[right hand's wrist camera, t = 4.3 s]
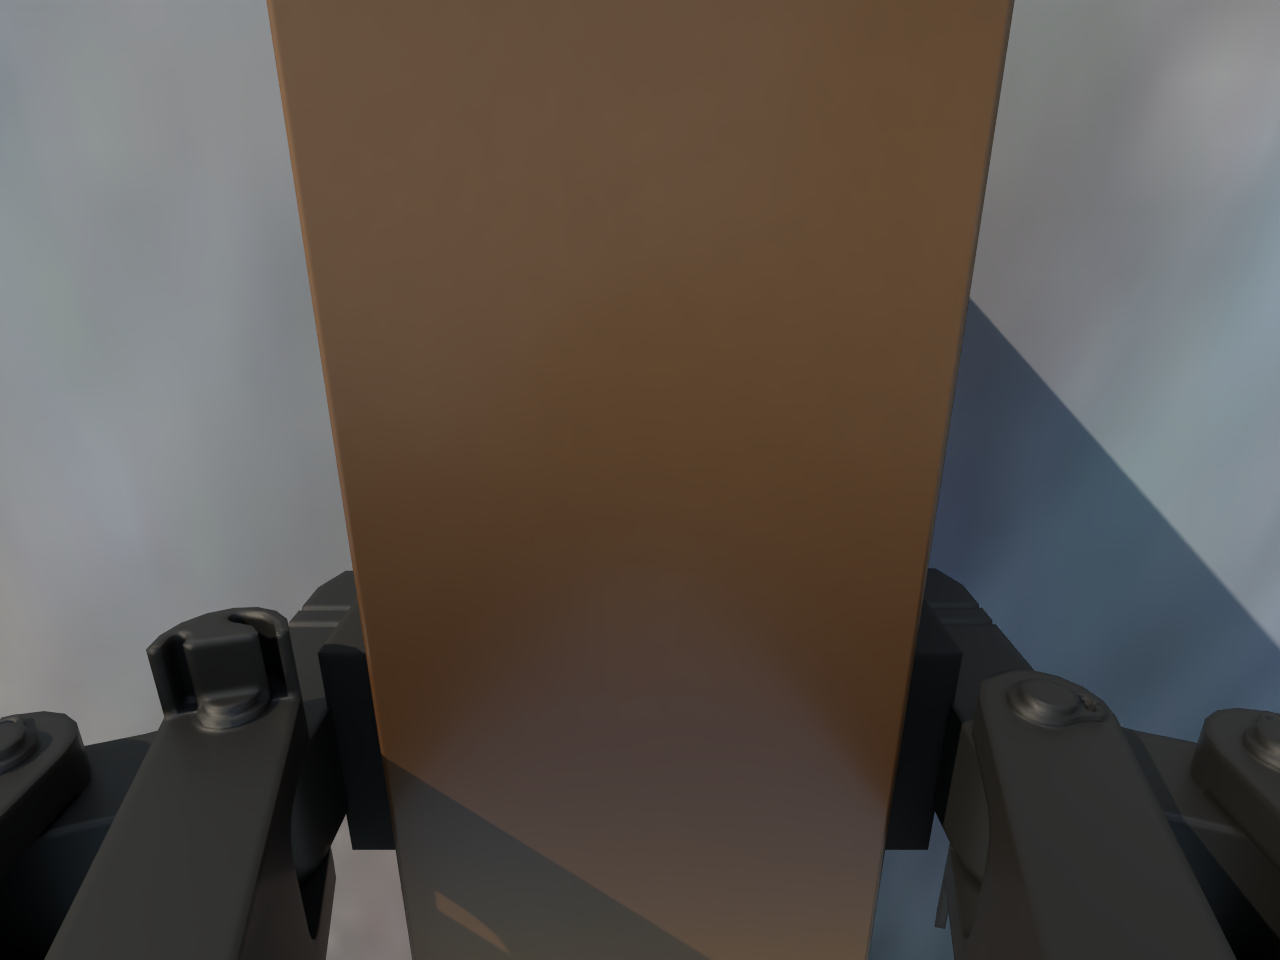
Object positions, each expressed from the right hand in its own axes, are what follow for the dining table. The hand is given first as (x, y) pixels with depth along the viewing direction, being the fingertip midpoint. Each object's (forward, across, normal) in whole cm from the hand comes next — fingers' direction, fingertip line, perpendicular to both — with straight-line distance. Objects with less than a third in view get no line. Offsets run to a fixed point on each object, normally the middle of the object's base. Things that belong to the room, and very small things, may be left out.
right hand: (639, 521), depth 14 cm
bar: (0, 0, -34) cm, 34 cm away
